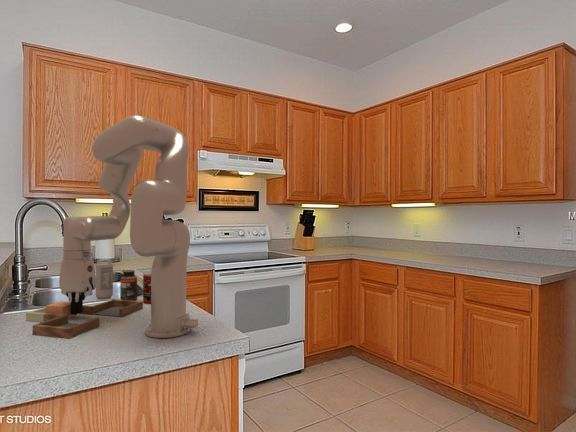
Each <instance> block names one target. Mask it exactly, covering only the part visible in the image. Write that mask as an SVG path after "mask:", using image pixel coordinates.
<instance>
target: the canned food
mask: <svg viewBox="0 0 576 432" xmlns="http://www.w3.org/2000/svg"><path fill="white" fill-rule="evenodd" d="M142 277H143V278H142V288H143V289H142V301H143V304H146V305H151V271H146V272H144V273H143V275H142Z"/></svg>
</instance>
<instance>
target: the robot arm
mask: <svg viewBox="0 0 576 432" xmlns="http://www.w3.org/2000/svg"><path fill="white" fill-rule="evenodd" d="M189 148H190V147H189V143H188V140H187V137H186V135H185V134H183V133H182V131H180V130H179V129H177V128H175V127H173V126H171V125H168V124H166V123H163V122H160V121H157V120H156V119H155V120H154V119H151V118H148V117H146V116H143V115H137V114H136V115H135V114H134V115H130V116H127V117H125V118H123V119H122V120H119V121H117V122H116V123H115V124H113V125H111V126H109V127H107V129H105V130H103V131H102V132H100V133H99V135H97V136H96V138H95V139H94V141H93V143H92V148H91V149H92V150H91V151H92V155H93V157H94V159H96V160H97V161H99V162H101V163H105V164H104V167H103V168H102V172H101V173H100V176H99V178H98V181H97V184H98V186H99V188H100V189H102V190H103V191H104V192H106V193H108V194H109V195H111V198H112V206H111V210H110V211H109V214H108V215H95V216H94V215H93V216H92V215H91V216H90V215H88V216H67V217H65V218H64V220H63V236H62V237H63V244H62V246H63V248H62V249H63V250H62V251H63V253H62V256H63V258H62V261H61V263H60V269H59V278H58V279H59V290H60V293H61V294H62V295H64V296H66V297H67V298H68V302H71V314H72V315H73V314H74V315H77V316H78V315H79V313H82V312H83V305H84V303H83V302H84V301H85V300H86V297H90V296H93V294H94V293H93V290H96V266H95V264H94V263H95V262H94V259H91V257H93V252H92V241H93V242H94V241H96V242H97V241H105V240H114V239H117V238H119V236H121V234H122V233H123V232H124V230H125V228H126V225H127V224H128V221H130V224H129V239H130V245H131V248H132V249H133V251H134V253H136V254H137V255H139V256H142V257H147V258H148V257H154V259H153V261H152V263H151V269H150V270H151V271H150V272H151V304H150V324H149V325H147V326H146V327H145V328H144V334H145V335H146V336H147V337H149V338H155V339H156V338H157V339H169V338H176V337H180V336H183V335H186V334H188V333H189V332H190V331H191V332H192V329H197V328H198V325H199V323H198V322H199V321H198V319H194V318H193V319H191V318H190V313H187V270H188V269H187V268H188V267H187V265H188V254H189V249H190V244H191V233H190V230H189V228H188V227H187V225H186V224H184V223H183V222H181V221H180V220H175V219H163V216H175V215H179V214H181V213H183V212H184V210H185V208H186V205H187V189H188V188H187V185H188V182H187V181H188V180H187V179H188V173H187V172H188V160H189V159H188V158H189V152H190V151H189ZM144 150H147V151H152V152H155V153H159V154H160V155H159V157H158V159H157V161H156V164H155V177H154V179H153V178H147V179H142V180H141V181H140V182H138V183H137V184H136V185H135V187H134V189H133V191H132V193H131V197H130V198H131V199H130V198H129V195H128V192H129V189H130V186H131V184H132V182H133V179H134V177H135V174H136V172H137V170H138V167H139V165H140V164H141V163H140V162H141V161H142V157H143V154H144ZM129 218H130V219H129Z"/></svg>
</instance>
